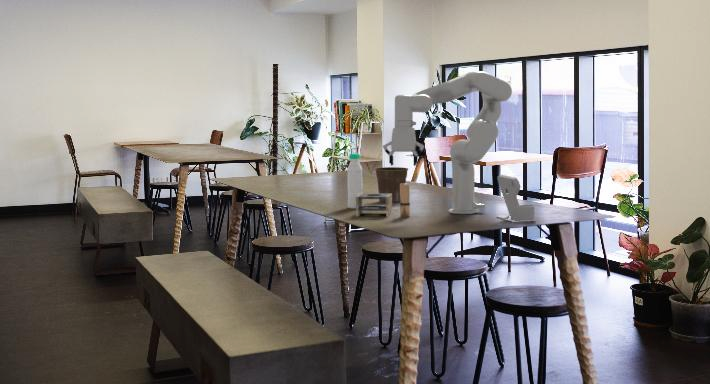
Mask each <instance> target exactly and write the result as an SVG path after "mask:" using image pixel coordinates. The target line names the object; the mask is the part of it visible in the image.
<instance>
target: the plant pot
mask: <svg viewBox="0 0 710 384" xmlns="http://www.w3.org/2000/svg"><path fill="white" fill-rule="evenodd" d="M374 170H375V174H376V179H377V180H376V181H377V188H378V189H377V190H378V194H392V204H394V203H396V204H397V203H398V204H400V184H402V183H407V182H406V181H407V177H408V171H409V168H407V167H396V166H393V167H392V166H391V167H387V166H386V167H377V168H376V167H375V168H374ZM378 200H379V202H380V203H385V204H386V199H378Z"/></svg>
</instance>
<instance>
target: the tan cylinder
mask: <svg viewBox="0 0 710 384" xmlns="http://www.w3.org/2000/svg"><path fill="white" fill-rule="evenodd" d="M410 194H411V193H410V183H408V182H406V183H402V184H400V202H399V206H400V207H399V212H400V213H399V215H400V218H410V217H411V209H410V208H411V207H410V206H411V202H410V201H411V200H410V196H411V195H410Z"/></svg>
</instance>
